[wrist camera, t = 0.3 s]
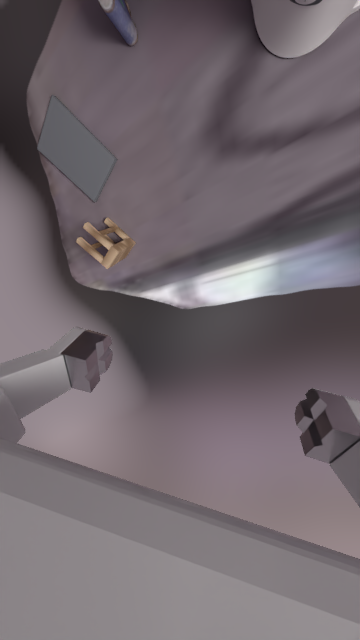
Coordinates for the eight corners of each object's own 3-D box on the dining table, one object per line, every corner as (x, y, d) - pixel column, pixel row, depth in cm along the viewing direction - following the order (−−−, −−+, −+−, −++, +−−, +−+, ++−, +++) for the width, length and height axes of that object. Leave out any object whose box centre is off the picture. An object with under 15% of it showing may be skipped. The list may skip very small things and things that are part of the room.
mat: (117, 159, 46) (115, 158, 45) (96, 201, 51) (94, 202, 51) (54, 95, 42) (52, 94, 41) (39, 149, 48) (37, 148, 47)
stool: (135, 242, 55) (118, 252, 46) (125, 257, 58) (107, 269, 49) (108, 217, 53) (85, 222, 45) (99, 234, 56) (75, 242, 47)
